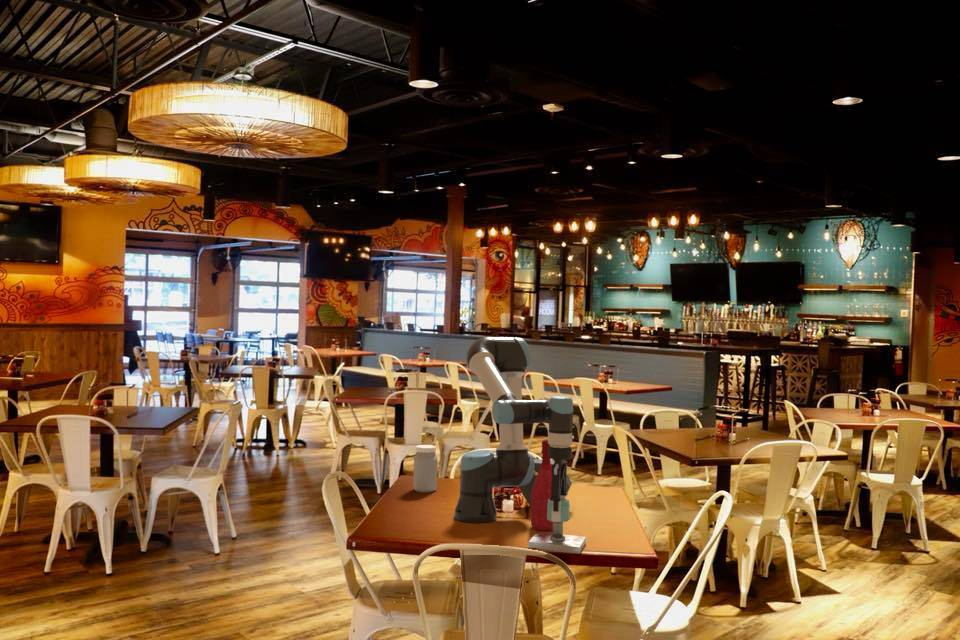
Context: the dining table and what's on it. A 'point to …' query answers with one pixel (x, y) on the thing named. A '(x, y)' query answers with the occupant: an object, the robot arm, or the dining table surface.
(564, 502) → the cap
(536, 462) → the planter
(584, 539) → the stud base
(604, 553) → the dining table surface
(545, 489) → the wine bottle
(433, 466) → the jar
